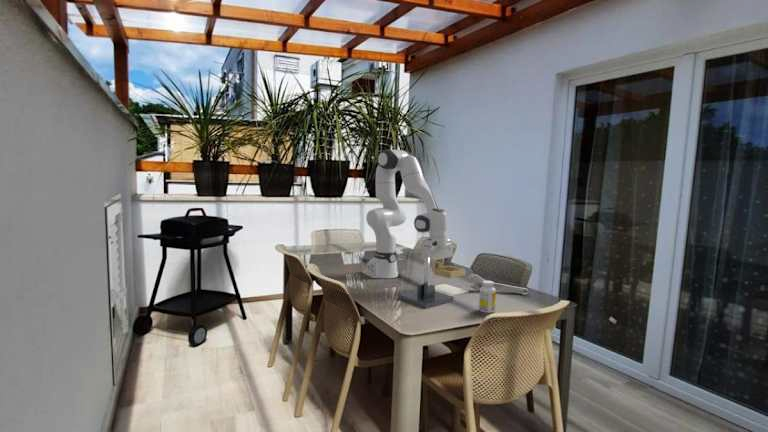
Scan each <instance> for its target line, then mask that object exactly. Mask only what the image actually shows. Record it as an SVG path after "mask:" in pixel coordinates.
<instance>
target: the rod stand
mask: <svg viewBox="0 0 768 432" xmlns="http://www.w3.org/2000/svg"><path fill="white" fill-rule="evenodd" d="M423 263H424V264H423V282H422V283H418V284H417V290H412V291H408V292H404V293H399V294H398V299H399V300H401V301H404V302H407V303H410V304H412V305H414V306H415V305H416V306H418V307H421V308H423V309H430V308H433V307H436V306H437V307H438V306H440V305H444V304H447V303H451V302H454V297H455V296H449V295H446V294H443V293H440V292H437V291H435V286H436V285H434V284H430V263H431V261H430V257H424V262H423Z"/></svg>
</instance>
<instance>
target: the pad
mask: <svg viewBox="0 0 768 432" xmlns="http://www.w3.org/2000/svg"><path fill="white" fill-rule="evenodd" d="M434 286H435V291H437V292H440V293H443V294H446V295H449V296H453V297H455V296H459V295H463V294H467V293H469V290H467V289H464V288H460V287H457V286H453V285H450V284H447V283H442V284H438V285H434Z"/></svg>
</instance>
